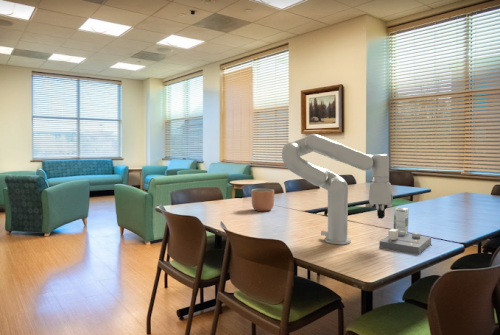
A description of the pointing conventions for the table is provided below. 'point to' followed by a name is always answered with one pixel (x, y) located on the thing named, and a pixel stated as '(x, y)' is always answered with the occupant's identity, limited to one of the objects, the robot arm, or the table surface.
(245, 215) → the table surface
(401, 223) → the syrup box
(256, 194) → the planter
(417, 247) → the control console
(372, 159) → the robot arm
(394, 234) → the fader tab
